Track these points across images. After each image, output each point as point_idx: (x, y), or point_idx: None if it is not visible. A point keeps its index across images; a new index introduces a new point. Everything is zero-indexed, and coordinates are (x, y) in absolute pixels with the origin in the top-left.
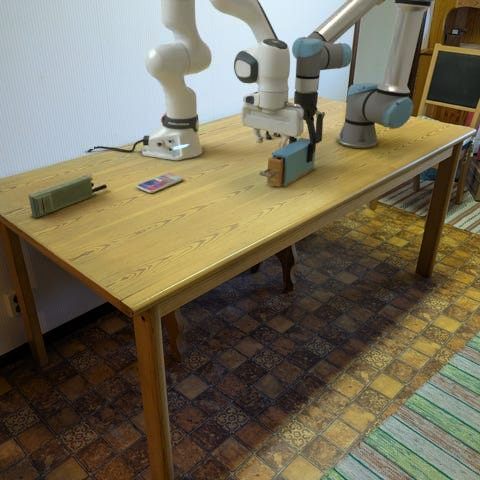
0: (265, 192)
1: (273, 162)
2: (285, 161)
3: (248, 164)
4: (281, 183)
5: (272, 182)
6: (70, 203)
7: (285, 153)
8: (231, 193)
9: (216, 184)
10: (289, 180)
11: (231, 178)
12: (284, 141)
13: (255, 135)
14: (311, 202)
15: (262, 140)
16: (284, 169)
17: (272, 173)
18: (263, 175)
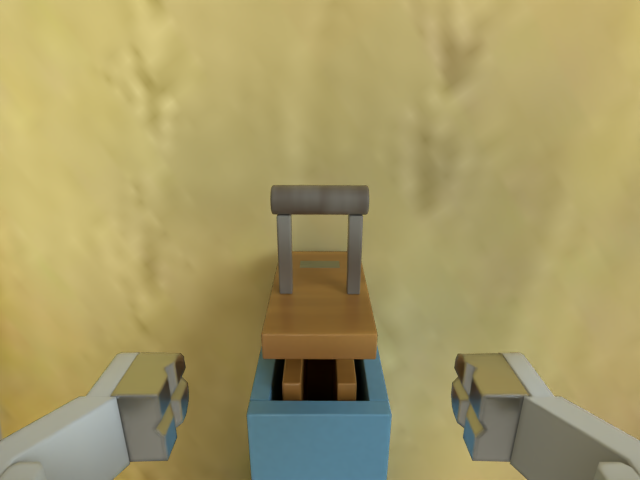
0: (317, 168)
1: (325, 322)
2: (266, 383)
3: None
4: None
5: (324, 256)
6: None
7: (294, 451)
8: (480, 27)
9: (629, 86)
10: None
11: (583, 215)
12: (39, 419)
13: (584, 411)
14: (52, 207)
15: (459, 406)
16: None
17: (287, 234)
18: (333, 185)
